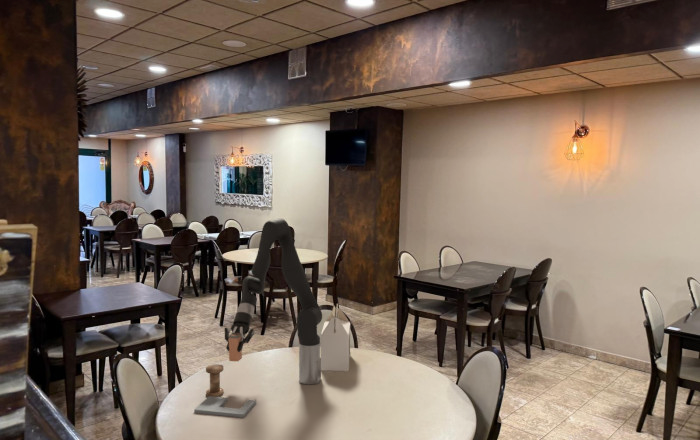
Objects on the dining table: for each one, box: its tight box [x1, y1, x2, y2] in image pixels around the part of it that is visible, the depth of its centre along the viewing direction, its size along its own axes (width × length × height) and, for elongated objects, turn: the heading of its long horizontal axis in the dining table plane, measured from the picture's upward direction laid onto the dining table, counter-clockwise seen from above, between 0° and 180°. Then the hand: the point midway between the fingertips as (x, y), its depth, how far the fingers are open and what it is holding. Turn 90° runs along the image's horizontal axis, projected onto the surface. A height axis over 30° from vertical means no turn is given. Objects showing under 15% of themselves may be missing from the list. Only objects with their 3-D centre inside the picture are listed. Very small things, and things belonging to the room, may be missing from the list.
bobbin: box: [205, 363, 225, 398], centre depth 194 cm, size 7×7×11 cm
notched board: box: [193, 396, 257, 418], centre depth 182 cm, size 20×12×1 cm, turn 80°
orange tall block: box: [228, 332, 243, 362], centre depth 202 cm, size 4×4×11 cm
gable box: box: [320, 303, 351, 372], centre depth 231 cm, size 22×13×28 cm, turn 178°
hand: (233, 350), depth 200 cm, fingers closed on orange tall block, 4 cm apart
